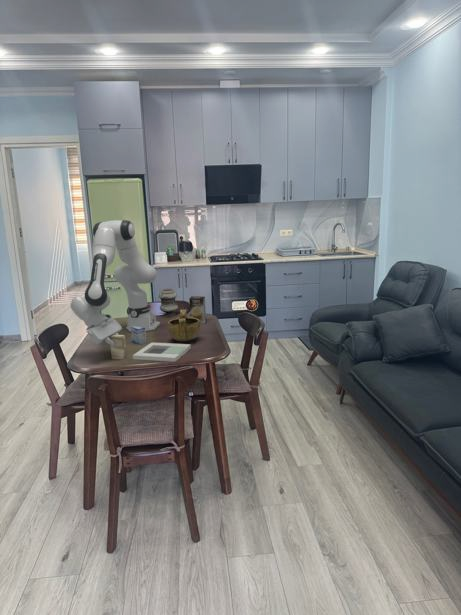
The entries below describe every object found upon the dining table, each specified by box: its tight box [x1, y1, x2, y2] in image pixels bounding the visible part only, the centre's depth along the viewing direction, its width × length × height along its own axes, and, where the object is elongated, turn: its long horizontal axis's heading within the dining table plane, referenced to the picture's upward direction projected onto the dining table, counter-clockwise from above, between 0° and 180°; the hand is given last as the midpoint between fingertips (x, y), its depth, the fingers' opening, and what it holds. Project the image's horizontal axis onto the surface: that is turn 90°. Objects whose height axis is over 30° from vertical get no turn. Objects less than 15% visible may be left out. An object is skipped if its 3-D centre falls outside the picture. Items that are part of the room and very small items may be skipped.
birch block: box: [109, 334, 128, 360], centre depth 203 cm, size 4×6×11 cm, turn 74°
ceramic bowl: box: [167, 308, 201, 343], centre depth 225 cm, size 22×17×15 cm
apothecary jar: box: [158, 288, 179, 318], centre depth 281 cm, size 12×12×18 cm
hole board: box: [132, 342, 192, 363], centre depth 207 cm, size 20×22×2 cm
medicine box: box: [130, 326, 147, 345], centre depth 226 cm, size 8×4×9 cm, turn 44°
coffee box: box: [188, 296, 207, 324], centre depth 261 cm, size 9×6×16 cm
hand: (117, 343), depth 202 cm, fingers closed on birch block, 4 cm apart
